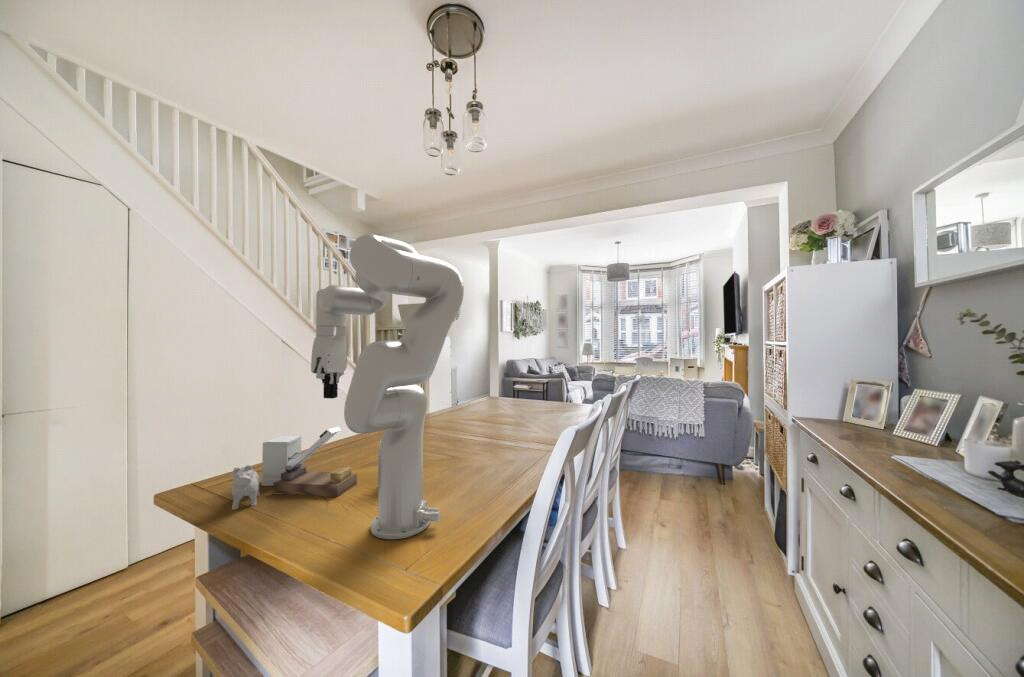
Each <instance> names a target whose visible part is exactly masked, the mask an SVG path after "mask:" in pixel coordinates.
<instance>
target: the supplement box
mask: <svg viewBox="0 0 1024 677" xmlns="http://www.w3.org/2000/svg"><path fill="white" fill-rule="evenodd" d="M301 455H302V436H301V435H297V436H295V435H286V436H285V435H284V436H277V437H274V438H271V439H269V440H266V441H263V442H262V457H261V458H262V460H261V461H262V465H261V466H262V469H261V470H262V471H261V476H262V477H261V486H264V487H265V486H268V487H270V486H273V482H276V481H278V480H280V479H281V473H283V472H285V471H286V470H285V468H286V467H287V466H289V465H291V464H292V463H293V462H294V461H295V460H296V459H297V458H299V457H300V456H301Z"/></svg>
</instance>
